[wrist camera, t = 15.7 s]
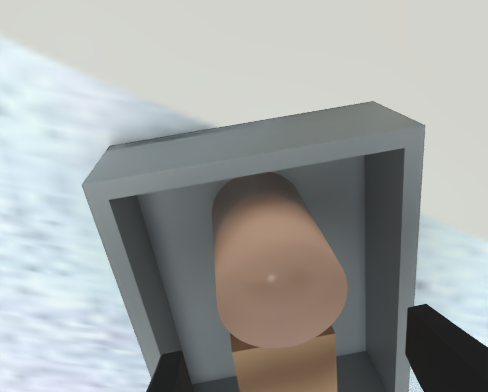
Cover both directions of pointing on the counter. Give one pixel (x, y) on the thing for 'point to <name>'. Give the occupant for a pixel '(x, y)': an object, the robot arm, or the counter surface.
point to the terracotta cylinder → (272, 264)
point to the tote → (317, 201)
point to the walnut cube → (287, 366)
